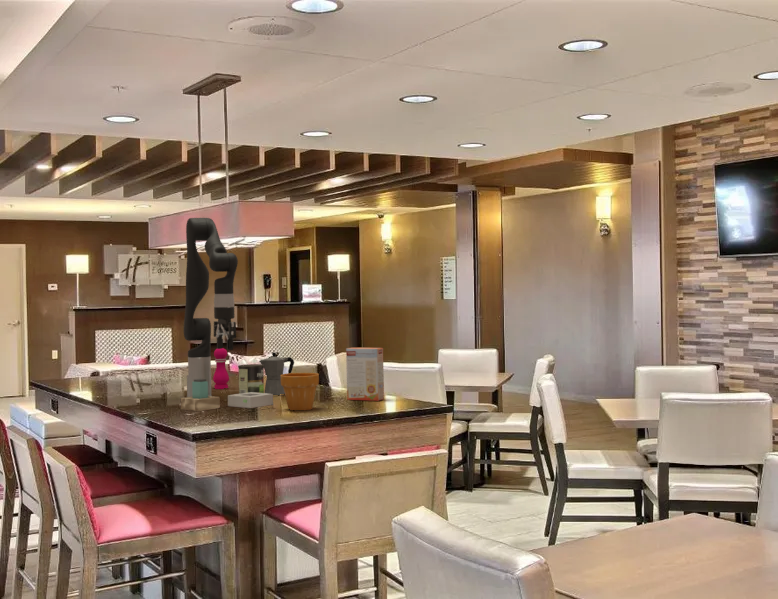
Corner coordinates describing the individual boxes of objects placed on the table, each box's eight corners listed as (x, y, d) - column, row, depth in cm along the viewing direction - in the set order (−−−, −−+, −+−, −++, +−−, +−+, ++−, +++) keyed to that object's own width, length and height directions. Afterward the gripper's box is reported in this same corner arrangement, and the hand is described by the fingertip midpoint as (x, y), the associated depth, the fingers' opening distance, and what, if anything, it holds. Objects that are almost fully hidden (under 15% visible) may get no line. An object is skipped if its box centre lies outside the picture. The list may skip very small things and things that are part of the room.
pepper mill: (232, 387, 415) (231, 344, 415) (224, 389, 409) (223, 345, 408) (218, 387, 418) (217, 343, 417) (210, 389, 411) (209, 345, 411)
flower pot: (303, 412, 329) (303, 376, 329) (273, 410, 337) (272, 375, 337) (326, 408, 341) (326, 373, 341) (296, 405, 349) (296, 372, 349)
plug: (192, 408, 338) (192, 379, 338) (201, 407, 341) (200, 378, 341) (199, 409, 336) (199, 380, 335) (208, 408, 339) (207, 379, 339)
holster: (181, 411, 337) (180, 398, 337) (201, 408, 345) (201, 395, 345) (199, 413, 331) (198, 399, 331) (219, 410, 339) (219, 396, 339)
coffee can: (267, 398, 374) (267, 364, 374) (259, 401, 364) (258, 366, 364) (244, 398, 376) (243, 364, 376) (234, 401, 366) (234, 366, 366)
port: (227, 408, 344) (226, 395, 344) (251, 405, 353) (250, 392, 353) (249, 410, 336) (249, 397, 336) (273, 407, 346) (273, 393, 346)
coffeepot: (262, 396, 379) (261, 353, 379) (256, 394, 388) (255, 352, 388) (298, 394, 385) (297, 352, 385) (291, 392, 394) (290, 350, 394)
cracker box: (384, 399, 364) (383, 347, 363) (378, 401, 358) (377, 348, 358) (353, 398, 370) (352, 346, 369) (346, 400, 364) (345, 347, 364)
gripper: (206, 306, 345) (207, 348, 345) (223, 306, 334) (224, 350, 334) (224, 305, 350) (225, 347, 350) (241, 306, 338) (242, 349, 338)
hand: (225, 349), depth 342 cm, fingers open, 8 cm apart
